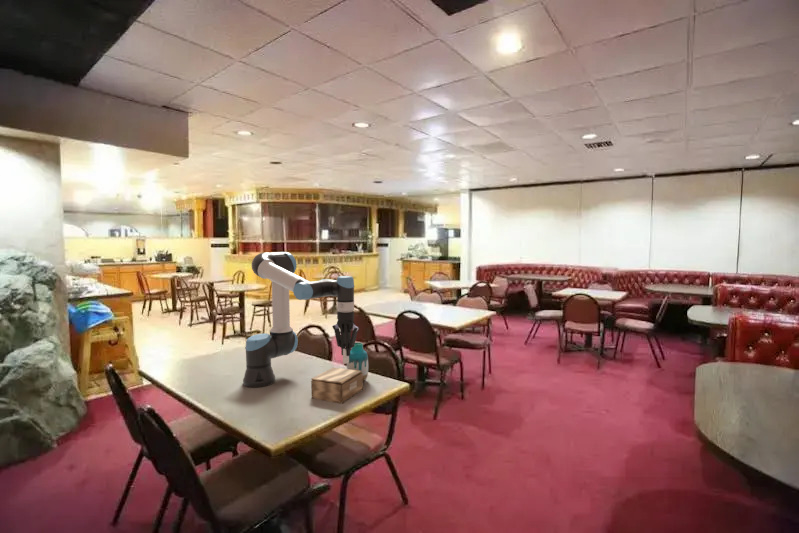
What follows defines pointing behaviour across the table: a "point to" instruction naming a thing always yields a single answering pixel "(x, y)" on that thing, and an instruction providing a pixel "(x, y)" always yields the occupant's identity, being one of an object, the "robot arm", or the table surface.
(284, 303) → the robot arm
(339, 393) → the wooden box
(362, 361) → the vase
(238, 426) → the table surface
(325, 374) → the flap
